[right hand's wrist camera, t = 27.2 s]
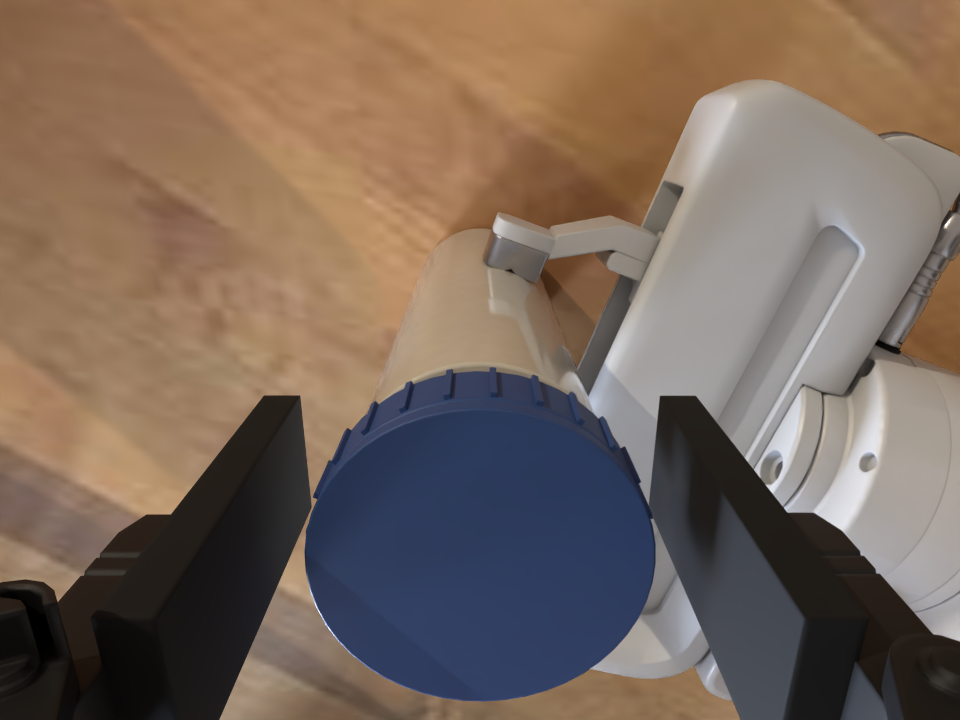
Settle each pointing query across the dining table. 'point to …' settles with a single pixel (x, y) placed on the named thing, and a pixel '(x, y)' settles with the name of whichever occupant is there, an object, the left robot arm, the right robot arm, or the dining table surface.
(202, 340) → the dining table surface
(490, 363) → the cream cylinder
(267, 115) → the dining table surface
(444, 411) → the lid
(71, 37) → the dining table surface
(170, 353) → the dining table surface
